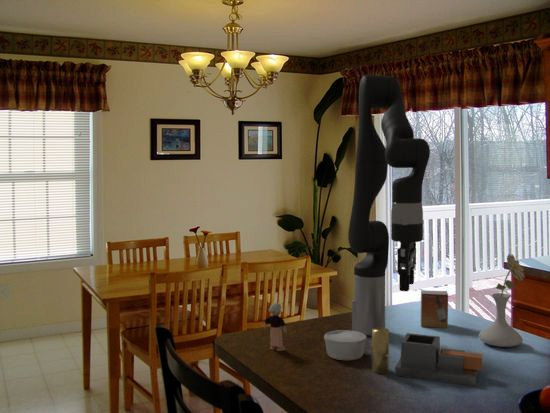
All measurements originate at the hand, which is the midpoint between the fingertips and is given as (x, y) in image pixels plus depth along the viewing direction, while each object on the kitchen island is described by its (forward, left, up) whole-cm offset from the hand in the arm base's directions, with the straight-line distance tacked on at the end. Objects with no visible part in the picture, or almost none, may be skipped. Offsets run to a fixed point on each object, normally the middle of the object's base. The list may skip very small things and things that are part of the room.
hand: (406, 287), depth 138 cm
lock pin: (+13, 0, -18) cm, 22 cm away
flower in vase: (+21, +29, -20) cm, 41 cm away
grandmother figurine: (-36, +2, -20) cm, 41 cm away
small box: (+1, +41, -20) cm, 45 cm away
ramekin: (-17, +4, -20) cm, 26 cm away
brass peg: (-6, -4, -20) cm, 21 cm away
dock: (+7, 0, -20) cm, 21 cm away
